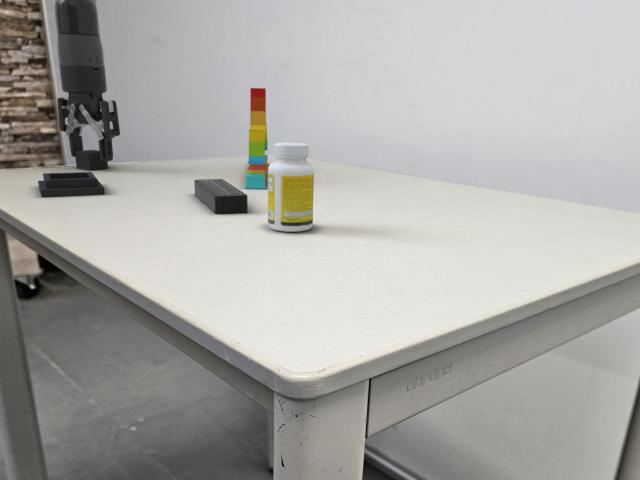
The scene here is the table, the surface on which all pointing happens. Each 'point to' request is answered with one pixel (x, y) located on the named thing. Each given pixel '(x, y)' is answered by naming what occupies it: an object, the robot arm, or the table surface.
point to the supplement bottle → (290, 188)
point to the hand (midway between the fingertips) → (92, 158)
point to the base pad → (70, 184)
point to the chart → (257, 140)
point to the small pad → (90, 160)
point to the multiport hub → (221, 196)
